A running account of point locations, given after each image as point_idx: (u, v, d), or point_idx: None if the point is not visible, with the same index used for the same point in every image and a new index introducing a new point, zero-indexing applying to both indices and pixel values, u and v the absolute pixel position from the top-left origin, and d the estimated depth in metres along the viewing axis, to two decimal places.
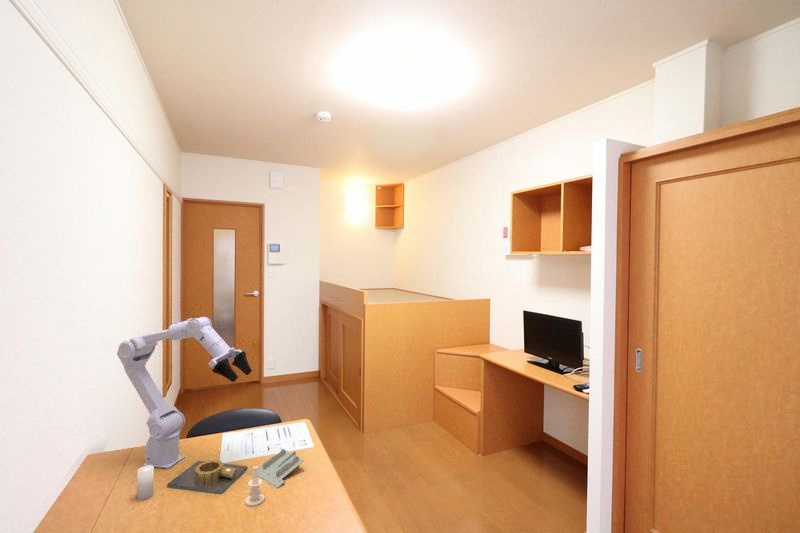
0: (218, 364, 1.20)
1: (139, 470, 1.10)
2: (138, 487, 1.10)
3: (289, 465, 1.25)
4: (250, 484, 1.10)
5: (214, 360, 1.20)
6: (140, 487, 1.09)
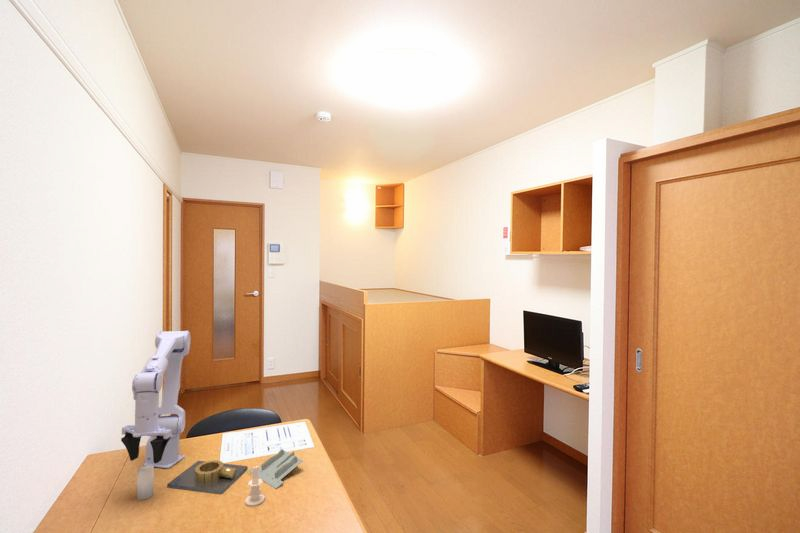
0: None
1: (139, 470, 1.10)
2: (138, 487, 1.10)
3: (288, 466, 1.24)
4: (250, 484, 1.10)
5: (123, 430, 1.11)
6: (140, 487, 1.09)
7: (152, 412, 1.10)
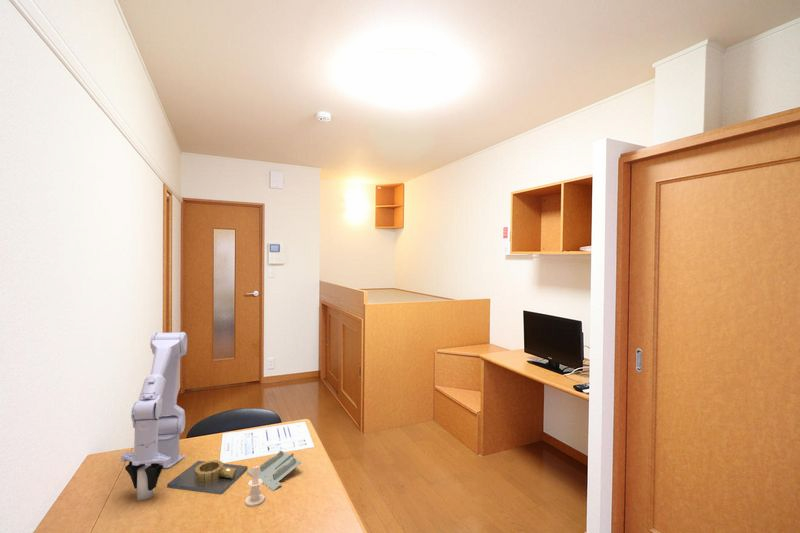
0: None
1: (139, 470, 1.10)
2: (138, 487, 1.10)
3: (286, 467, 1.23)
4: (250, 484, 1.10)
5: (122, 458, 1.11)
6: (140, 487, 1.09)
7: (151, 440, 1.10)
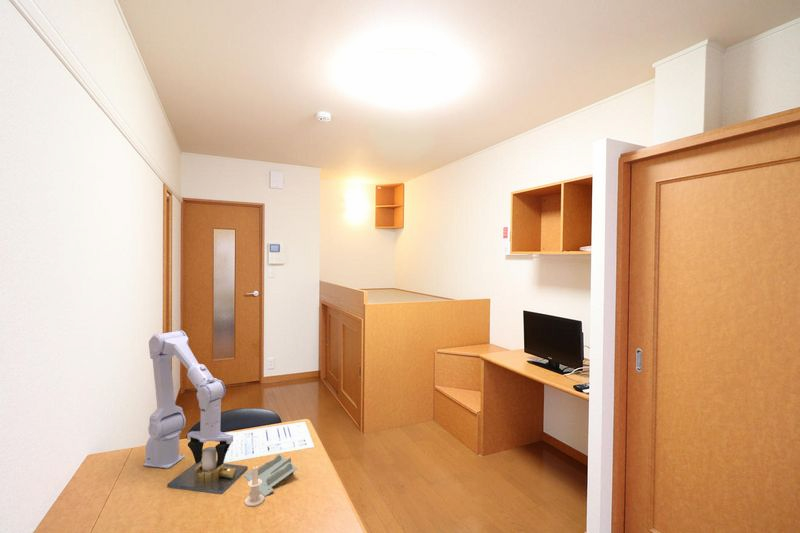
0: None
1: (204, 451, 1.20)
2: (203, 466, 1.20)
3: (281, 473, 1.20)
4: (250, 484, 1.09)
5: (188, 436, 1.21)
6: (205, 466, 1.19)
7: (220, 416, 1.22)
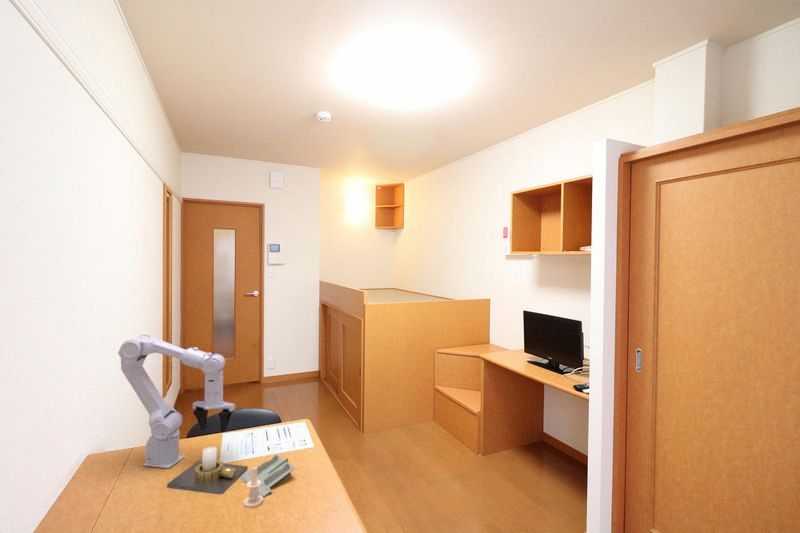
0: None
1: (204, 450, 1.20)
2: (203, 466, 1.20)
3: (279, 473, 1.20)
4: (248, 485, 1.09)
5: (194, 405, 1.32)
6: (206, 466, 1.19)
7: None
